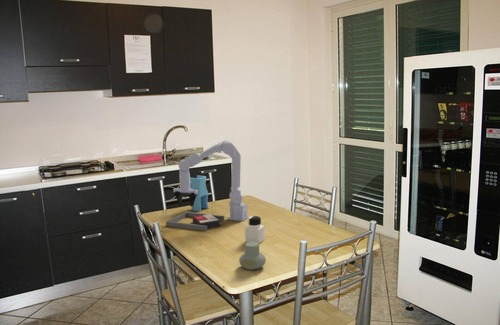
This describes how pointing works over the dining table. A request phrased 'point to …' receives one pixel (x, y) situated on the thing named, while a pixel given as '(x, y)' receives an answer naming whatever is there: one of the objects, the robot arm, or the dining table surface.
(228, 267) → the dining table surface
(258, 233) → the medicine bottle
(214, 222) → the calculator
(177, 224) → the grey piece
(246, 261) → the air freshener
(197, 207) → the light blue tall block
